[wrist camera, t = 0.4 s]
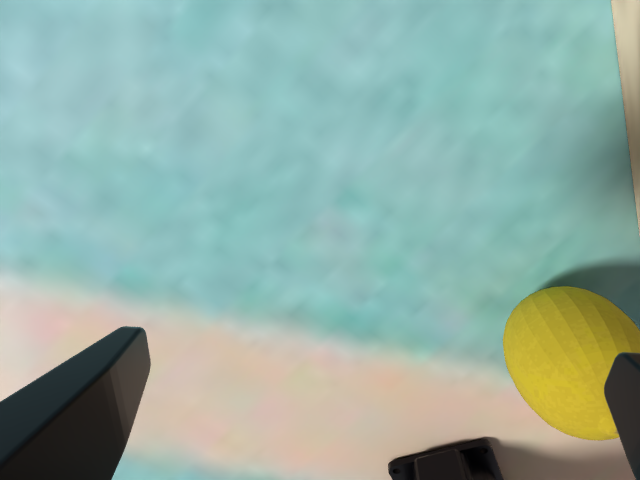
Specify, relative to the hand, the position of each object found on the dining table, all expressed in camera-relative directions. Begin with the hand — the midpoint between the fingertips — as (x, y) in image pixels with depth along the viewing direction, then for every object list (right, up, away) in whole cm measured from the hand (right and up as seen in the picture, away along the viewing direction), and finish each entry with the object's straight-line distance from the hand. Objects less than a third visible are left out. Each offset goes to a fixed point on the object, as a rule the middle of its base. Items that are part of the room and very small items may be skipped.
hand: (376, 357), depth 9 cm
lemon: (+10, -1, +16) cm, 19 cm away
